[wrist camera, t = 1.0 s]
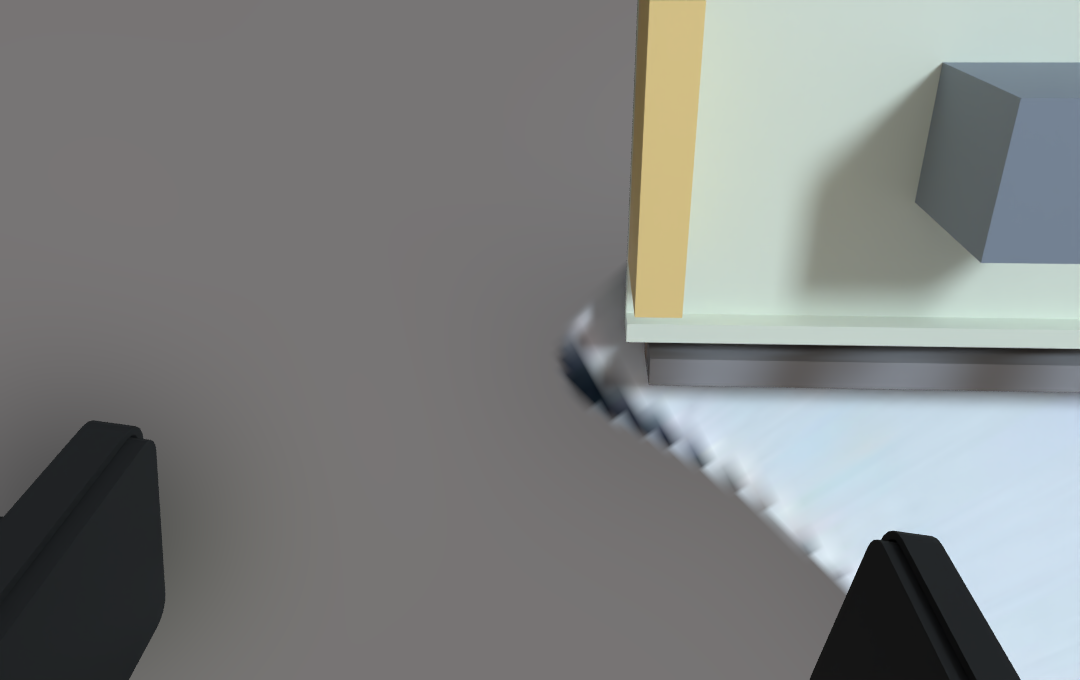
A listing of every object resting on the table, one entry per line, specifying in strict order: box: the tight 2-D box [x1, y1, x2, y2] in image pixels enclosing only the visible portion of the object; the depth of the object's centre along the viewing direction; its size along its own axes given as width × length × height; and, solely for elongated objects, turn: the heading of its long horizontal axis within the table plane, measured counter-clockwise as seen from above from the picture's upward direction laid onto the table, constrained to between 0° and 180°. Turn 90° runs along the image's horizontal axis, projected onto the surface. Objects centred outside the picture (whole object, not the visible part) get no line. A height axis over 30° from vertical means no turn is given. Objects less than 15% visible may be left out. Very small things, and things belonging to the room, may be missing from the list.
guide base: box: [645, 342, 1080, 392], centre depth 31 cm, size 28×20×3 cm
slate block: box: [915, 62, 1080, 264], centre depth 28 cm, size 5×5×6 cm
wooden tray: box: [624, 0, 1080, 349], centre depth 29 cm, size 20×16×6 cm
